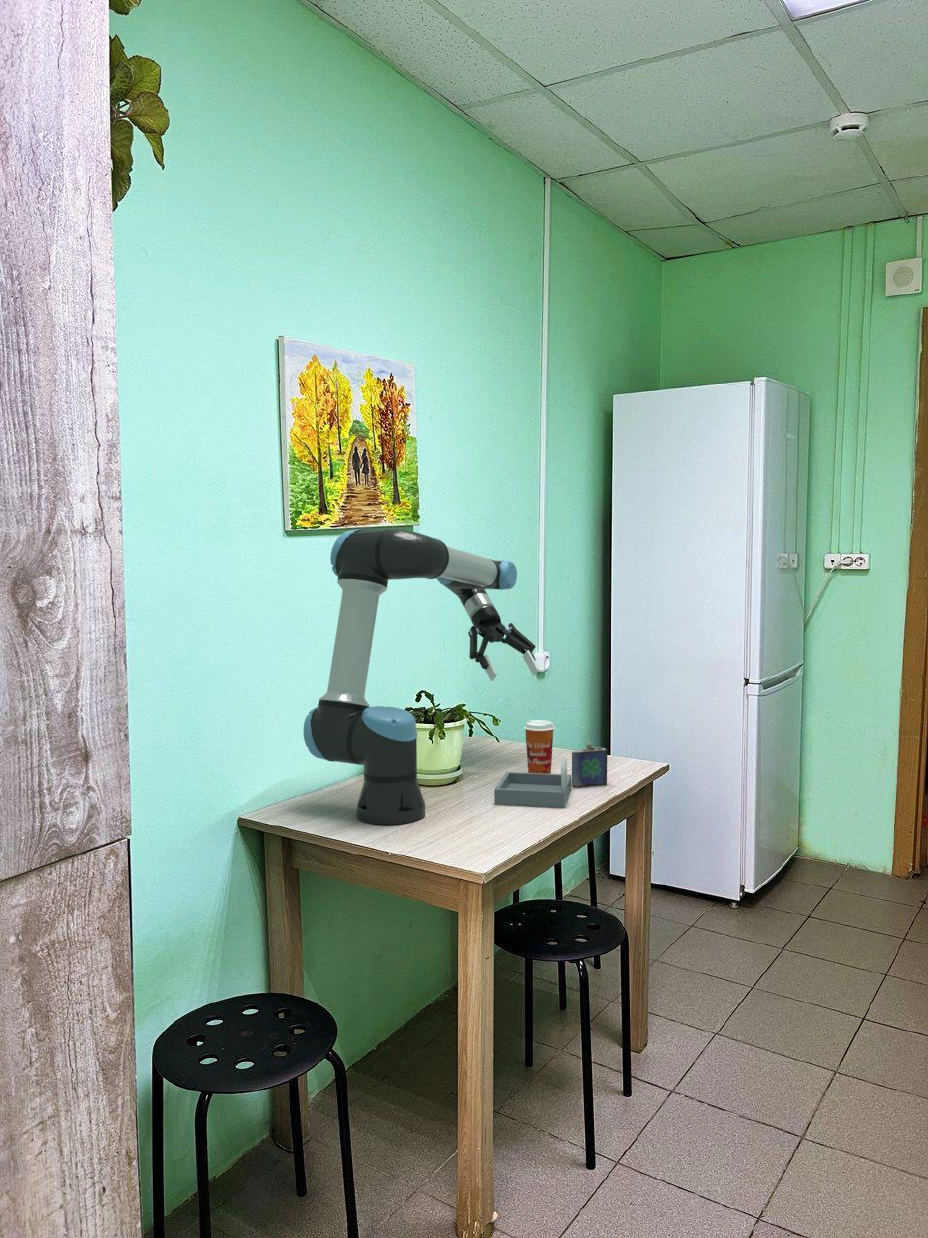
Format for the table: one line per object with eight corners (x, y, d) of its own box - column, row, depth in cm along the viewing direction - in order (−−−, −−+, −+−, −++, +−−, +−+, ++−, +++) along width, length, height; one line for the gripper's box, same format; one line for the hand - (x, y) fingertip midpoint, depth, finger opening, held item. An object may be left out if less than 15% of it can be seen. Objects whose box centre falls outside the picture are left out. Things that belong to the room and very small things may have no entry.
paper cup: (521, 779, 230) (521, 724, 229) (528, 772, 238) (527, 718, 237) (551, 781, 228) (551, 726, 227) (557, 774, 235) (557, 720, 234)
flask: (573, 788, 222) (573, 745, 221) (569, 785, 225) (569, 742, 224) (609, 785, 224) (609, 742, 223) (604, 782, 227) (604, 740, 226)
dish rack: (494, 804, 209) (494, 761, 208) (506, 785, 225) (505, 745, 224) (564, 808, 206) (564, 764, 205) (571, 788, 221) (571, 748, 220)
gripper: (514, 619, 260) (547, 678, 249) (439, 626, 247) (470, 688, 236) (525, 602, 255) (559, 661, 244) (449, 607, 242) (481, 670, 231)
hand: (515, 675), depth 240 cm, fingers open, 13 cm apart
